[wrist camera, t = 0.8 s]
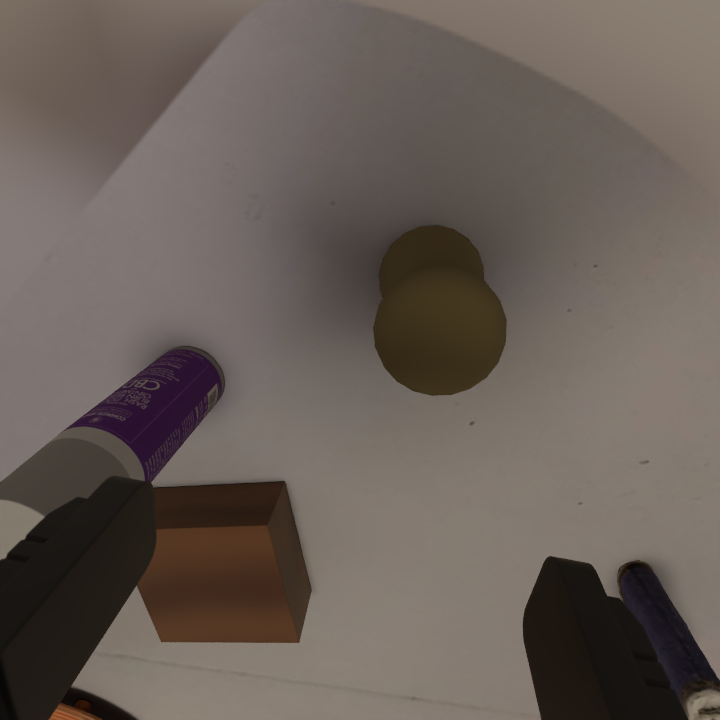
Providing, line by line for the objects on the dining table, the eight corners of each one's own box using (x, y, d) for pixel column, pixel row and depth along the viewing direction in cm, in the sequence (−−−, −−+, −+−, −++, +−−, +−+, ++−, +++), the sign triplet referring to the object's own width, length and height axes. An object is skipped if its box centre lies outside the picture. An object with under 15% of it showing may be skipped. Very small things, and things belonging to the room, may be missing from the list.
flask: (681, 640, 36) (782, 820, 26) (642, 648, 37) (725, 826, 27) (649, 555, 33) (748, 721, 23) (607, 566, 34) (685, 731, 24)
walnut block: (147, 488, 35) (112, 530, 31) (285, 481, 34) (267, 525, 30) (187, 592, 40) (161, 642, 35) (311, 591, 38) (299, 643, 34)
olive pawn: (403, 208, 26) (397, 236, 16) (503, 250, 26) (560, 305, 16) (363, 305, 28) (335, 384, 18) (455, 342, 28) (477, 441, 18)
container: (200, 335, 30) (19, 480, 16) (237, 394, 31) (100, 574, 18) (144, 361, 31) (-68, 517, 17) (183, 417, 33) (15, 602, 19)
